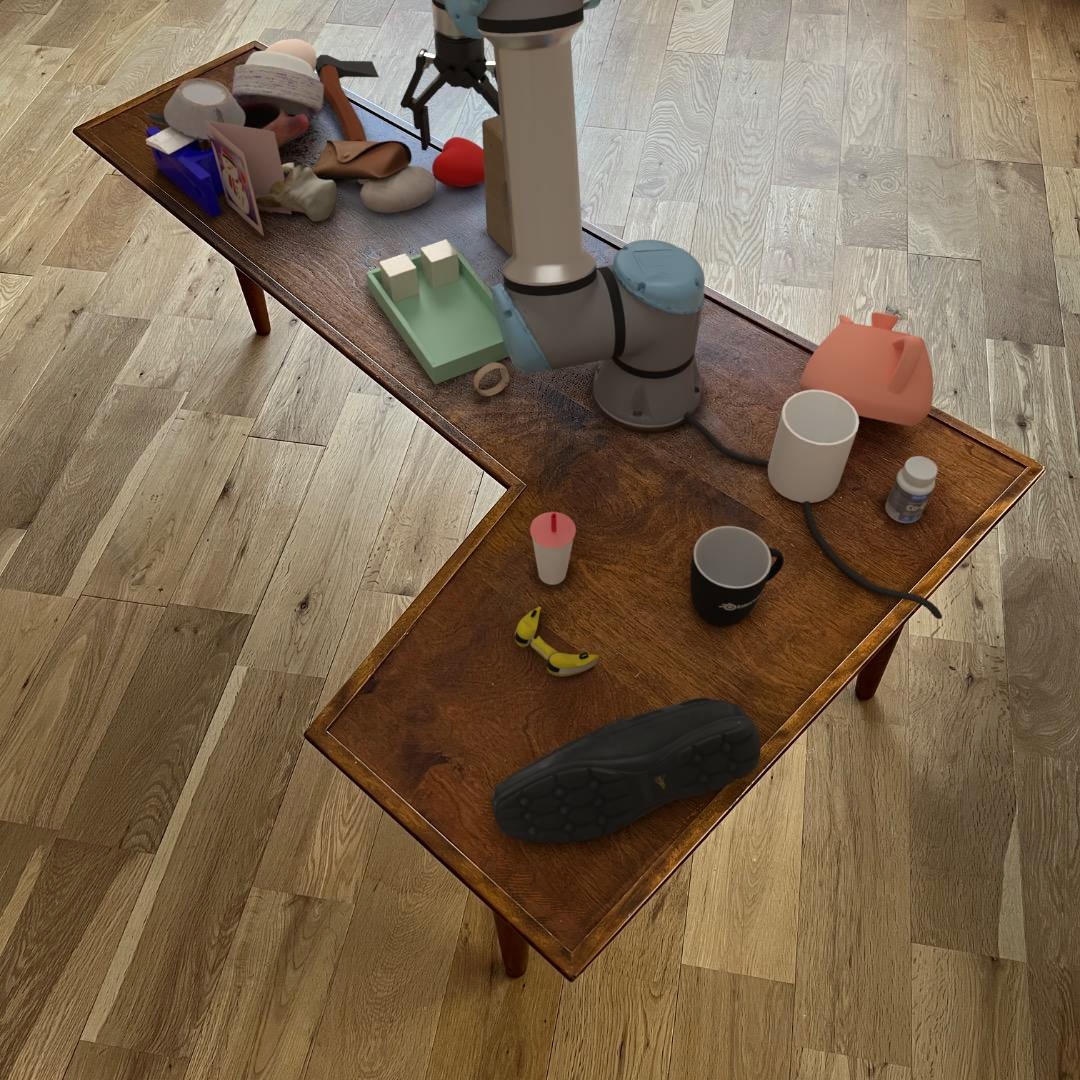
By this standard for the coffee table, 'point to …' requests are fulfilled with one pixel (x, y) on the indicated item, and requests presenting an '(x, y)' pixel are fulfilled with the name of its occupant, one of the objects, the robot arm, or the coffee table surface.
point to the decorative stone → (399, 190)
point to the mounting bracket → (192, 173)
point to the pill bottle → (911, 490)
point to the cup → (552, 545)
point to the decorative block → (496, 185)
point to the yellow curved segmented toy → (551, 649)
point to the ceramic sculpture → (301, 192)
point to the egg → (295, 50)
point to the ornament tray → (445, 322)
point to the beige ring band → (499, 387)
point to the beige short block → (399, 278)
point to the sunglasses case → (362, 159)
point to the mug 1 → (730, 574)
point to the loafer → (627, 771)
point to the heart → (459, 163)
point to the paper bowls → (279, 83)
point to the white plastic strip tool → (169, 140)
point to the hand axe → (335, 96)
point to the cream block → (440, 263)
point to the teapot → (874, 370)
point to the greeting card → (246, 167)
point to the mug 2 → (812, 445)
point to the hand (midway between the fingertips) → (465, 151)
